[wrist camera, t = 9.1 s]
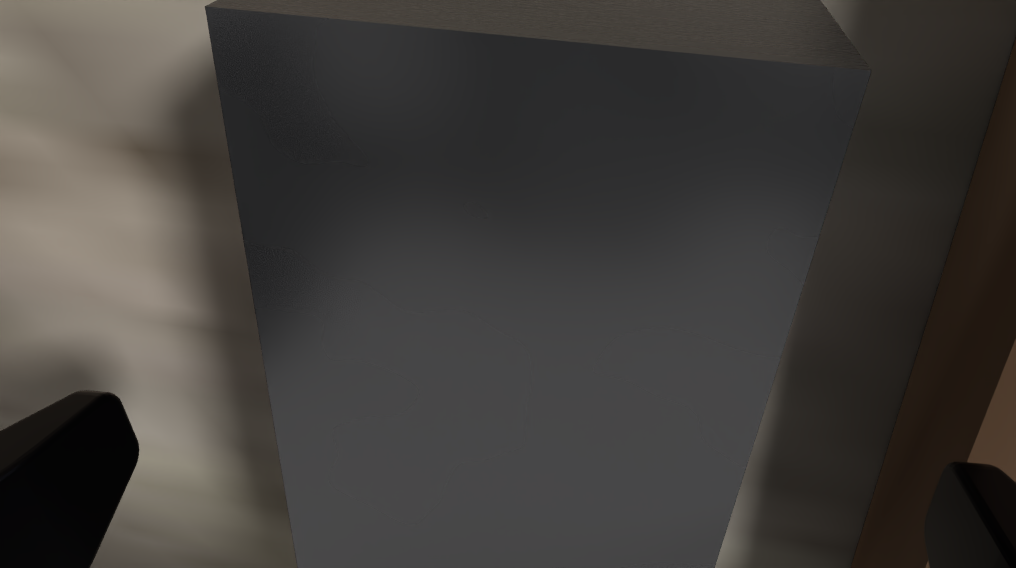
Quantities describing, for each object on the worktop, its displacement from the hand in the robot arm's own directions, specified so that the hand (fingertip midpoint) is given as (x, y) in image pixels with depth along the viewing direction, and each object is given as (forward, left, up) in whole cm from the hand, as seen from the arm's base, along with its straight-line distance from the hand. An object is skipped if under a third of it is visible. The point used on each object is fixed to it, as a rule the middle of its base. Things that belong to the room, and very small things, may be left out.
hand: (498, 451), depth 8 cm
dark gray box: (0, 0, -3) cm, 3 cm away
